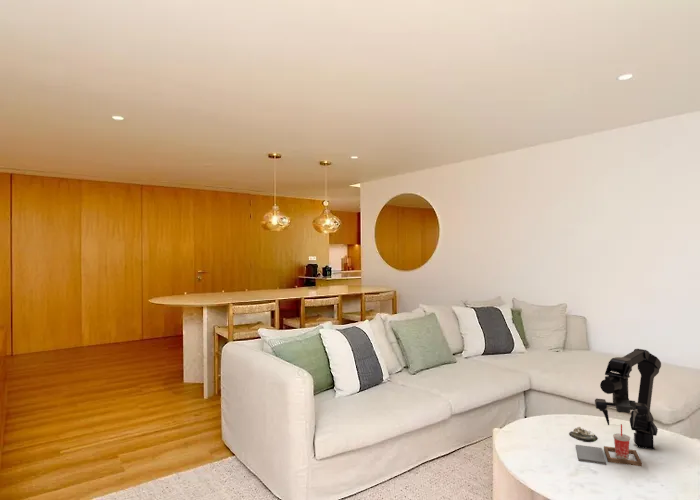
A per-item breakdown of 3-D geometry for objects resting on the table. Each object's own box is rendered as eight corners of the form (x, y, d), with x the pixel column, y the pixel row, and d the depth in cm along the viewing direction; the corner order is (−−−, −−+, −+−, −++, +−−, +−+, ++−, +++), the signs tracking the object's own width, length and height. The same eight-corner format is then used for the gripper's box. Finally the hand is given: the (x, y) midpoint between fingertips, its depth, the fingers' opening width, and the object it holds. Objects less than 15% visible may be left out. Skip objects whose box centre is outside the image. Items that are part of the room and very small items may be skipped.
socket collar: (635, 453, 190) (635, 448, 190) (642, 466, 179) (641, 461, 179) (603, 449, 194) (603, 444, 194) (607, 461, 183) (607, 456, 183)
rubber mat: (601, 450, 194) (601, 447, 194) (606, 464, 181) (606, 462, 181) (575, 446, 198) (575, 444, 198) (578, 460, 185) (578, 458, 185)
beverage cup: (633, 461, 183) (632, 427, 183) (616, 460, 184) (616, 426, 184) (627, 454, 189) (626, 422, 189) (611, 453, 190) (610, 421, 190)
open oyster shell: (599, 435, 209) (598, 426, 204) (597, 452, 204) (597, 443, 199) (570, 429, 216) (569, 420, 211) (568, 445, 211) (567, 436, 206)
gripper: (597, 392, 183) (598, 430, 183) (651, 397, 176) (651, 437, 176) (594, 384, 193) (595, 420, 193) (644, 389, 186) (645, 426, 186)
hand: (621, 426), depth 187 cm, fingers open, 9 cm apart
